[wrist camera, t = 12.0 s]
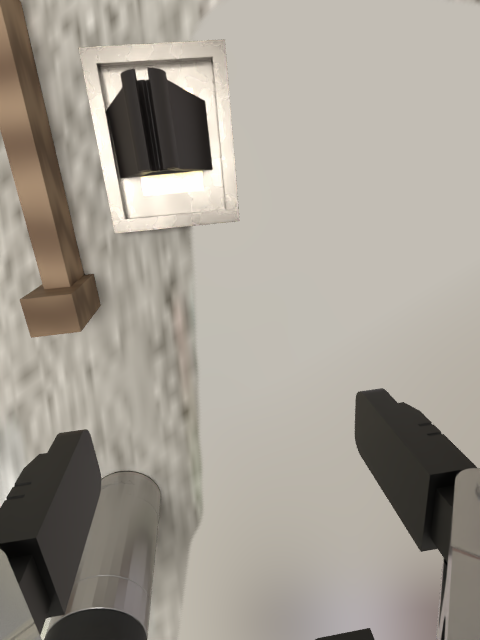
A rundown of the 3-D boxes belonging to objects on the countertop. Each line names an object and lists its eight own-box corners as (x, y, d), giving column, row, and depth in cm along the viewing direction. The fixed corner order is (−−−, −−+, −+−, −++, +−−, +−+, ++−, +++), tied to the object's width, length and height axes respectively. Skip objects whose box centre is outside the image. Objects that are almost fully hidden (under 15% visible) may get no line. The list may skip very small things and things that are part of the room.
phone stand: (120, 178, 37) (89, 175, 25) (107, 109, 34) (67, 72, 23) (212, 170, 37) (222, 163, 26) (205, 101, 35) (212, 62, 24)
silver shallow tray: (236, 218, 40) (239, 221, 38) (119, 230, 39) (114, 233, 37) (222, 49, 35) (224, 39, 33) (86, 57, 34) (78, 47, 32)
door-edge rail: (100, 305, 42) (80, 331, 34) (59, 310, 41) (31, 337, 34) (32, 1, 32) (-15, -55, 25) (-21, 3, 32) (-86, -53, 24)
